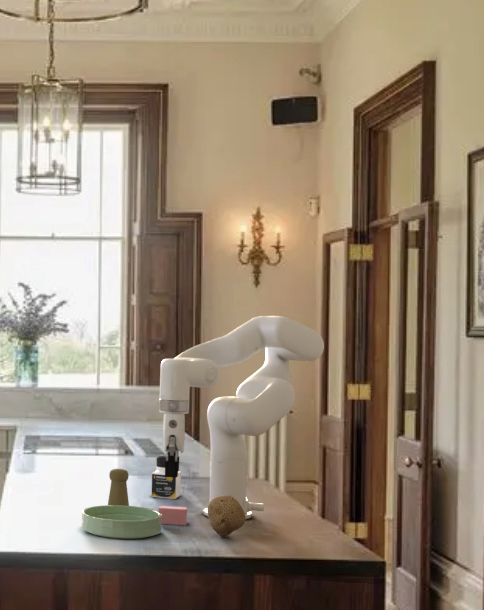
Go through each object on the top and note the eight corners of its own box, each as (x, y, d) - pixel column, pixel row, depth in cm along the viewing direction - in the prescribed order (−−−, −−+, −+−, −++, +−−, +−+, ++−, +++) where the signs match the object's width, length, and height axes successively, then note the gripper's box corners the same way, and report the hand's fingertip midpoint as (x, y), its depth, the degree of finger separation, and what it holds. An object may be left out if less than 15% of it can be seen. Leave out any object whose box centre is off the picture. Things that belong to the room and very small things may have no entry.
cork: (128, 512, 270) (129, 471, 270) (105, 510, 271) (106, 470, 271) (130, 508, 276) (131, 467, 276) (108, 506, 277) (109, 466, 277)
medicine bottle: (151, 497, 293) (152, 455, 293) (157, 493, 300) (158, 452, 300) (175, 499, 290) (176, 457, 290) (180, 495, 297) (181, 454, 297)
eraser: (186, 522, 258) (186, 507, 258) (186, 525, 255) (186, 509, 255) (159, 521, 259) (159, 505, 259) (158, 523, 256) (158, 508, 256)
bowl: (162, 525, 254) (162, 507, 254) (159, 542, 235) (159, 523, 235) (86, 521, 258) (87, 503, 258) (77, 537, 239) (77, 518, 239)
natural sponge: (245, 534, 246) (245, 493, 246) (245, 542, 237) (245, 499, 237) (207, 531, 248) (208, 490, 248) (205, 539, 239) (206, 497, 240)
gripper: (188, 410, 248) (186, 480, 248) (189, 405, 265) (187, 470, 265) (157, 408, 249) (155, 478, 249) (160, 403, 266) (158, 468, 266)
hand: (171, 474), depth 257 cm, fingers open, 9 cm apart
